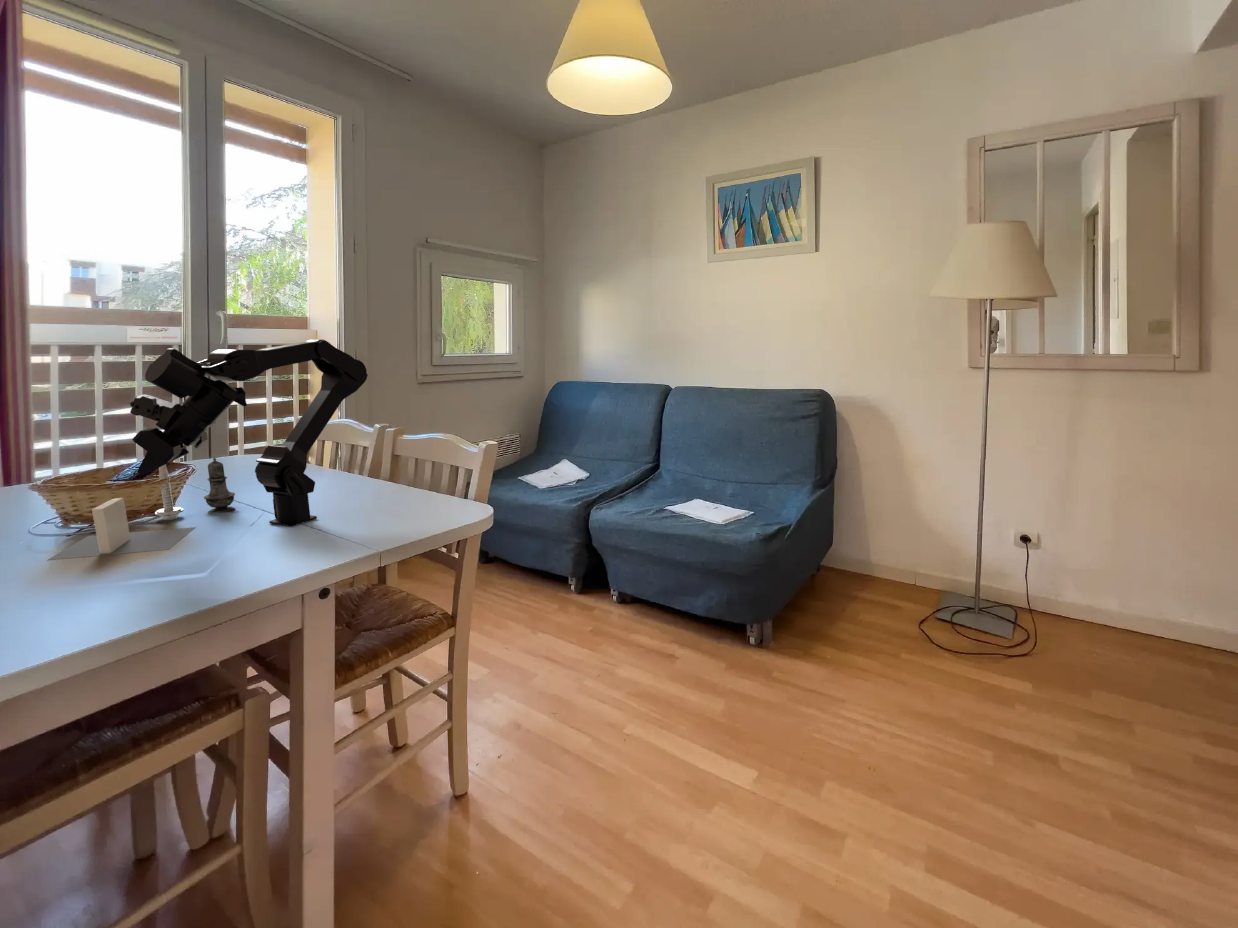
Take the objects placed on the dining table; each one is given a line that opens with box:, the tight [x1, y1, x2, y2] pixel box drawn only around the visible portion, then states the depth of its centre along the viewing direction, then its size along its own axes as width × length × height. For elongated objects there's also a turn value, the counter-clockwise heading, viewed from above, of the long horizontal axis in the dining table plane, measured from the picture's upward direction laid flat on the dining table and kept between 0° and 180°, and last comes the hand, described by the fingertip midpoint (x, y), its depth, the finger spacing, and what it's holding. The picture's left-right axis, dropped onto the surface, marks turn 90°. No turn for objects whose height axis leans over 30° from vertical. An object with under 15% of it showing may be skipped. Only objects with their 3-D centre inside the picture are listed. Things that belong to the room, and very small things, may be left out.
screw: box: [154, 464, 184, 521], centre depth 132 cm, size 13×5×5 cm
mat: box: [47, 526, 197, 561], centre depth 118 cm, size 18×14×1 cm
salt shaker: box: [203, 457, 236, 514], centre depth 139 cm, size 6×6×12 cm
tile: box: [91, 497, 131, 554], centre depth 115 cm, size 2×8×8 cm, turn 16°
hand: (140, 473), depth 115 cm, fingers closed
